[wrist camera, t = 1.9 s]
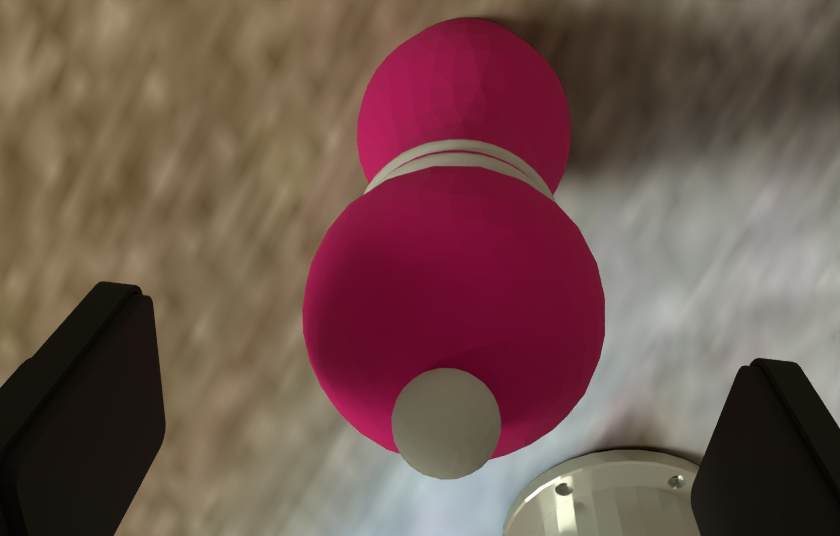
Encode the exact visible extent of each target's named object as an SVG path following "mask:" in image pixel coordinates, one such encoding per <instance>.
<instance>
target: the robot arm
mask: <svg viewBox="0 0 840 536" xmlns="http://www.w3.org/2000/svg"><path fill="white" fill-rule="evenodd" d="M165 427H166V423H165V413H164V403H163V394H162V384H161V375H160V365H159V356H158V346H157V337H156V327H155V318H154V309H153V302H152V299H151V297H150V296H146V295H143V294H142V291H141V289H140V287H139V286H137V285H130V284H122V283H113V282H105V281H103V282H99V283H98V284H96V285H95V286H94V288H93V289H92V290H91V291H90V292H89V293H88V294H87V296H86V297H85V298H84V299H83V300H82V301H81V302H80V303H79V305H78V306H77V307H76V308H75V309H74V310H73V311H72V312H71V314H70V315H69V316H68V317H67V318H66V319H65V320H64V322H63V323H62V324H61V325H60V326H59V327H58V328H57V329H56V331H55V332H54V333H53V334H52V335H51V336H50V337H49V339H48V340H47V341H46V342H45V343H44V344H43V345H42V346H41V348H40V349H39V350H38V351H37V352H36V353H35V354H34V356H33V357H32V358H29V359H27V360H26V361H25V362H24V363H23V364H21V365H20V366H19V367H18V369H17V370H16V371H15V372H14V373H13V374H12V375H11V376H10V378H9V379H8V380H7V381H6V382H5V383H4V384H3V385H2V387H1V388H0V536H114V534H115V532H116V530H117V528H118V526H119V524H120V523H121V521H122V519H123V517H124V515H125V513H126V511H127V509H128V508H129V506H130V504H131V502H132V500H133V498H134V496H135V494H136V492H137V491H138V489H139V487H140V485H141V483H142V481H143V479H144V477H145V475H146V474H147V472H148V470H149V468H150V466H151V464H152V462H153V460H154V459H155V457H156V455H157V453H158V451H159V449H160V447H161V445H162V442H163V439H164V435H165ZM503 536H840V428H839V427H838V425H837V423H836V422H835V420H834V419H833V417H832V416H831V414H830V413H829V411H828V409H827V408H826V406H825V405H824V403H823V402H822V400H821V398H820V397H819V395H818V394H817V392H816V391H815V389H814V388H813V386H812V384H811V383H810V381H809V380H808V378H807V377H806V375H805V374H804V372H803V370H802V369H801V367H800V366H799V365H798V364H797V363H794V362H789V361H781V360H772V359H764V358H757V359H754V360H753V361H752V362H751V364H750V366H742V367H741V368H740V369H739V371H738V372H737V375H736V377H735V380H734V382H733V385H732V387H731V390H730V392H729V395H728V397H727V400H726V402H725V405H724V407H723V410H722V412H721V415H720V417H719V420H718V422H717V425H716V427H715V430H714V432H713V435H712V437H711V440H710V442H709V445H708V447H707V450H706V452H705V455H704V457H703V460H702V462H701V465H700V467H699V466H697V465H695V464H693V463H691V462H689V461H687V460H685V459H681V458H678V457H675V456H672V455H668V454H665V453H659V452H652V451H645V450H612V451H605V452H598V453H591V454H588V455H584V456H581V457H578V458H574V459H571V460H568V461H566V462H564V463H562V464H559V465H557V466H555V467H553V468H551V469H549V470H547V471H546V472H544V473H543V474H541V475H540V476H539V477H537V478H536V479H534V480H533V481H531V482H530V483H529V484H528V485H527V486H526V487H525V488H524V489H523V490H522V491H521V493H520V494H519V495H518V496H517V497H516V499H515V501H514V502H513V504H512V505H511V507H510V509H509V510H508V513H507V516H506V519H505V523H504V527H503Z"/></svg>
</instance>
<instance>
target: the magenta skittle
mask: <svg viewBox="0 0 840 536" xmlns="http://www.w3.org/2000/svg"><path fill="white" fill-rule="evenodd" d="M570 144H571V125H570V115H569V108H568V102H567V99H566V96H565V93H564V90H563V87H562V85H561V83H560V81H559V79H558V77H557V75H556V73H555V71H554V70H553V69H552V67H551V66H550V65H549V64H548V62H547V61H546V60H545V58H544V57H543V56H542V55H541V54H539V53H538V52H537V51H536V50H535V49H534V48H533V47H532V46H530V45H529V44H528V43H527V42H525V41H524V40H522V39H520V38H519V37H518V36H516V35H515V34H514V33H513V32H511V31H510V30H508V29H506V28H505V27H503V26H501V25H498V24H496V23H494V22H490V21H486V20H482V19H474V18H457V19H451V20H447V21H444V22H440V23H437V24H435V25H433V26H431V27H429V28H427V29H425V30H424V31H422V32H420V33H419V34H417V35H416V36H414V37H412V38H410V39H409V40H407V41H406V42H404V43H403V44H401V45H400V46H398V47H397V48H396V49H395V50H394V51H393V52H392V53H391V54H390V55H388V56H387V57H386V59H385V60H384V61H383V62H382V64H381V65H380V66H379V67H378V69H377V70H376V71H375V73H374V75H373V77H372V79H371V80H370V82H369V84H368V86H367V89H366V92H365V94H364V97H363V100H362V104H361V109H360V113H359V117H358V128H357V145H358V151H359V158H360V162H361V165H362V168H363V170H364V173H365V176H366V178H367V180H368V183H369V185H368V187H367V188H366V190H365V193H364V195H363V196H361V197H360V198H358V199H357V200H355V201H354V202H352V203H351V204H349V205H348V206H347V207H346V209H345V210H344V211H343V212H342V214H341V215H340V216H339V217H338V218H337V220H336V221H335V222H334V223H333V225H332V226H331V227H330V228H329V229H328V231H327V233H326V235H325V237H324V238H323V241H322V243H321V245H320V247H319V249H318V251H317V253H316V255H315V257H314V259H313V261H312V263H311V267H310V271H309V275H308V279H307V283H306V289H305V296H304V302H303V309H302V312H303V334H304V338H305V343H306V347H307V351H308V356H309V360H310V363H311V365H312V367H313V370H314V372H315V374H316V377H317V379H318V381H319V383H320V386H321V387H322V389H323V390H324V392H325V393H326V395H327V396H328V398H329V399H330V401H331V402H332V404H333V405H334V406H335V407H336V409H337V410H338V411H339V412H340V414H341V415H342V416H343V417H344V418H345V419H346V420H347V421H348V422H349V423H350V424H351V425H353V426H354V427H355V428H356V429H357V430H358V431H359V432H360V433H361V434H363V435H365V436H366V437H368V438H369V439H371V440H373V441H374V442H376V443H377V444H379V445H381V446H382V447H384V448H385V449H387V450H390V451H393V452H396V453H399V454H401V456H402V457H403V458H404V460H405V461H406V462H407V463H408V464H409V465H410V466H411V467H412V468H414V469H415V470H417V471H418V472H420V473H422V474H423V475H427V476H430V477H434V478H438V479H458V478H461V477H464V476H466V475H469V474H471V473H473V472H475V471H476V470H478V469H480V468H481V467H482V466H483V465H484V464H485V463H486V462H487V461H488V460H490V459H493V458H497V457H501V456H504V455H507V454H510V453H512V452H514V451H517V450H519V449H521V448H523V447H526V446H528V445H530V444H532V443H533V442H535V441H536V440H538V439H539V438H541V437H542V436H544V435H545V434H547V433H548V432H550V431H552V430H553V429H554V428H555V427H556V426H557V425H558V424H559V423H560V422H561V421H562V420H564V419H565V418H566V417H567V416H568V414H569V413H570V412H571V410H572V409H573V408H574V407H575V405H576V404H577V403H578V402H579V400H580V399H581V398H582V397H583V395H584V394H585V392H586V390H587V387H588V385H589V383H590V380H591V378H592V376H593V373H594V371H595V369H596V366H597V364H598V361H599V359H600V356H601V351H602V346H603V341H604V336H605V298H604V292H603V288H602V283H601V279H600V275H599V270H598V266H597V263H596V261H595V259H594V257H593V255H592V253H591V251H590V249H589V247H588V245H587V243H586V241H585V239H584V237H583V236H582V234H581V232H580V230H579V228H578V227H577V225H576V224H575V223H574V222H573V221H572V220H571V219H570V218H569V217H568V216H567V215H566V213H565V212H564V211H563V210H562V209H561V208H560V207H559V206H558V205H557V204H556V202H555V199H554V197H553V194H554V192H555V191H556V189H557V187H558V185H559V183H560V181H561V179H562V176H563V174H564V172H565V168H566V165H567V161H568V158H569V154H570Z"/></svg>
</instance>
